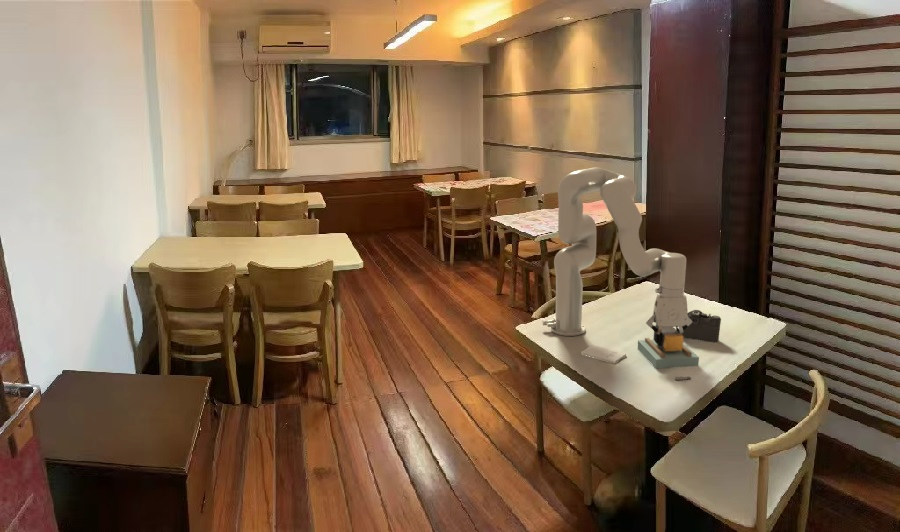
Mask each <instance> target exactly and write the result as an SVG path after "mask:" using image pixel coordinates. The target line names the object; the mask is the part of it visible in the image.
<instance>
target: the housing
mask: <svg viewBox="0 0 900 532" xmlns="http://www.w3.org/2000/svg"><path fill="white" fill-rule="evenodd" d="M661 335H662V340H661V346H660V347H661V348H662V349H663V350H664V351H681V350H682V347H683V343H684V338H683V335H682V334H681V333H679V332H678V331H677V330H676V327H663V328H662V331H661ZM652 340H654V341H655V331H654V330H653V338H652Z"/></svg>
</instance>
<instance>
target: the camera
mask: <svg viewBox="0 0 900 532" xmlns="http://www.w3.org/2000/svg"><path fill="white" fill-rule="evenodd" d="M688 317H689V318H690V319H691V320H692V323H691V324H690V325H689V326H687V328H686V329H685V330H684V331H683V333H682V335H683V339H688V340H695V341H700V342H701V341H702V342H710V343H718V342H719V339H720V330H721V324H722V317H720V316H719V315H712V313H708V314H707V313H704V312H702V311H701V310H700V309H693V310H691V311H688Z"/></svg>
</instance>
